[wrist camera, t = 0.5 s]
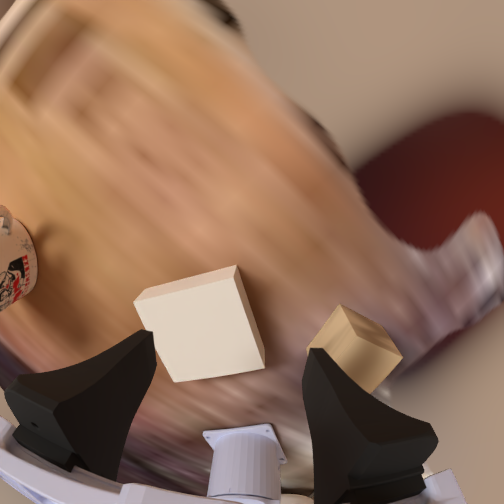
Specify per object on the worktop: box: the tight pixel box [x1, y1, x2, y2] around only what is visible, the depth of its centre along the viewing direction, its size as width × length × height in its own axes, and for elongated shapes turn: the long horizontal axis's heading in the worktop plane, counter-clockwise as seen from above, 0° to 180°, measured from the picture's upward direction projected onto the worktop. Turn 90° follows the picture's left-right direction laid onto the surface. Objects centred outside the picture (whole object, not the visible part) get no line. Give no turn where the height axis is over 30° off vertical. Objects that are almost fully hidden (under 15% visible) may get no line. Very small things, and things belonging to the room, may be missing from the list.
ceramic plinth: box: [133, 265, 265, 382], centre depth 22 cm, size 8×8×3 cm
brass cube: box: [306, 304, 403, 394], centre depth 21 cm, size 5×5×5 cm
